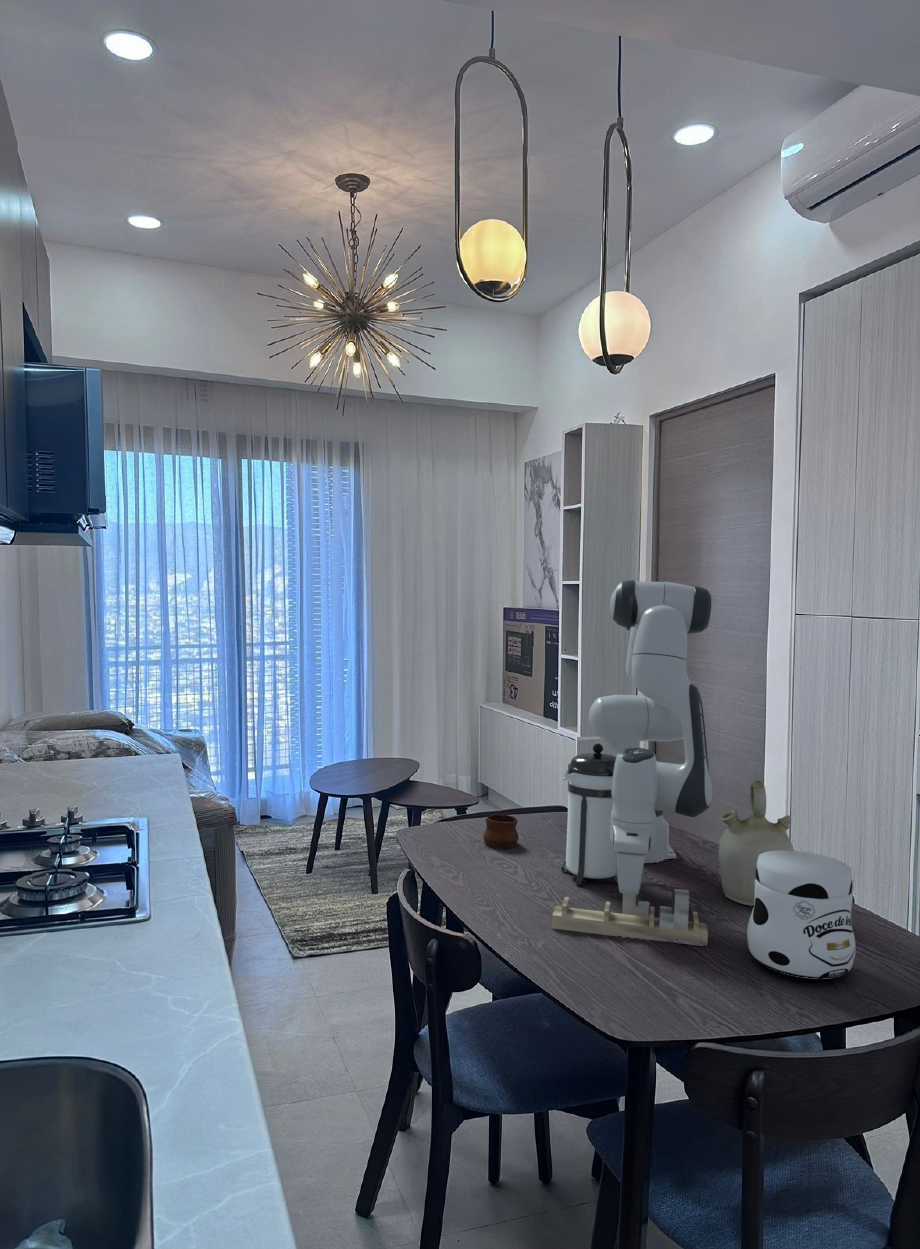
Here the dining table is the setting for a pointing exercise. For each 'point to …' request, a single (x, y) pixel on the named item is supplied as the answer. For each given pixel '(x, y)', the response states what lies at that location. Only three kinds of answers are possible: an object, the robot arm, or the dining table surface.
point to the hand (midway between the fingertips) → (629, 902)
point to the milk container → (802, 914)
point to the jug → (749, 844)
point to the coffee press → (590, 816)
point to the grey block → (637, 908)
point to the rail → (635, 921)
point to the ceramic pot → (501, 831)
